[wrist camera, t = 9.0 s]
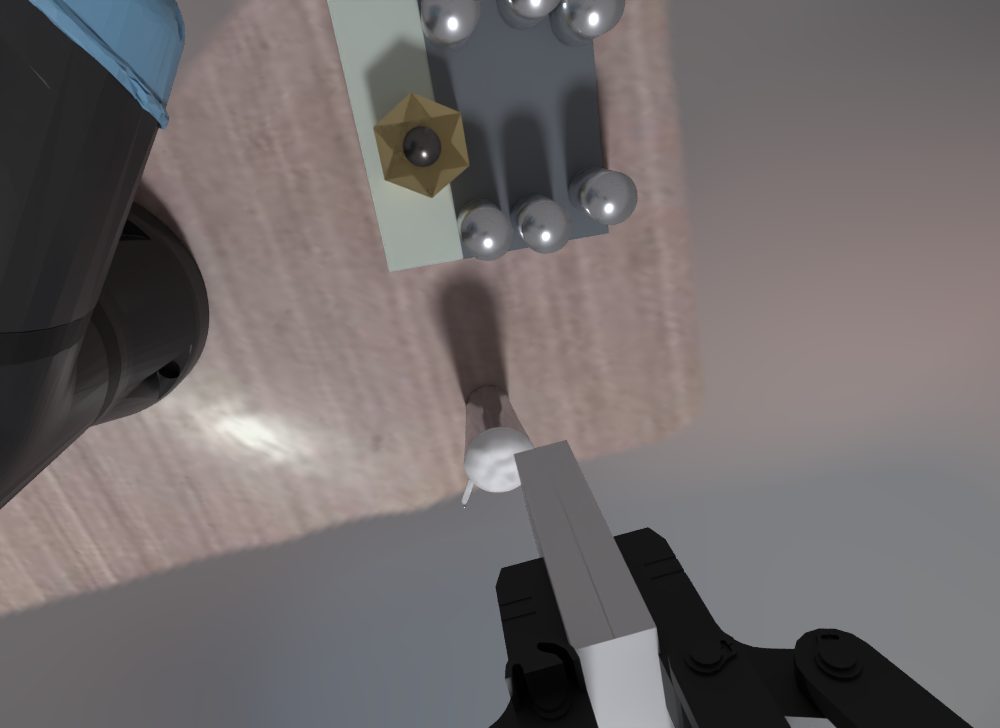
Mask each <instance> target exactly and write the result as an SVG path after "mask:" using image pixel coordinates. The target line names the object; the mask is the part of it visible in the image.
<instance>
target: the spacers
mask: <svg viewBox="0 0 1000 728" xmlns="http://www.w3.org/2000/svg"><path fill="white" fill-rule="evenodd" d="M496 4H497V9H498V12H499V15H500V16H501V18H502V20H503V21H504V22H505V23H506V24H507V25H508V26H510V27H512V28H514V29H518V30H526V29H530V28H532V27H534V26H535V25H536V24H538V23H539V22H540V21H541V20H542V19H543V18H544V17H545V16H547V15H548V14H549V13H550V17H549V20H550V27H551V30H552V32H553V34H554V36H555V37H556V38H557V39H558V40H559V41H560V42H561V43H563V44H565V45H567V46H580V45H582V44H584V43H586V42H588V41H590V40H592V39H594V38H596V37H598V36H600V35H602V34H604V33H606V32H608V31H609V30H611V29H612V28H613V27H614V26H615V25H616V24H617V23H618V22H619V20H620V18H621V16H622V14H623V11H624V7H625V0H496ZM480 9H481V6H480V0H421V24H422V29H423V32H424V35H425V37H426V38H427V40H428V41H429V42H430V43H431V44H432V45H433V46H434V47H435V48H437V49H439V50H442V51H454V50H457V49H459V48H461V47H462V46H464V45H465V44H466V43H467V41H468V40H469V38H470V36H471V34H472V32H473V30H474V28H475V26H476V25H477V22H478V20H479V16H480ZM568 197H569V200H570V203H571V204H572V206H573V207H574V208H575V209H576V210H578V211H580V212H581V213H583V214H585V215H587V216H589V217H591V218H592V219H594V220H596V221H598V222H600V223H602V224H606V225H615V224H618V223H621V222H623V221H624V220H626V219H627V218H628V217H629V216H630V215H631V214H632V212H633V211H634V209H635V206H636V203H637V189H636V186H635V184H634V182H633V181H632V179H631V178H630V177H628V176H627V175H625V174H623V173H621V172H616V171H612V170H608V169H604V168H599V167H595V166H589V167H584V168H582V169H580V170H579V171H577V172H576V173H575V174H574V175H573V177H572V178H571V180H570V182H569V186H568ZM510 220H511V222H510V221H509V219H508V218H507V217H506V215H505V214H504V213H503V212H502V211H501V210H500V209H499V208H498V207H497V206H496V205H495V204H494V203H493V202H491V201H489V200H486V199H474V200H471V201H469V202H467V203H466V204H465V205H464V206H463V207H462V208H461V210H460V212H459V214H458V219H457V225H458V230H459V232H460V235H461V238H462V241H463V244H464V246H465V248H466V250H467V251H468V252H469V253H470V254H471V255H472V256H473V257H475V258H477V259H480V260H485V261H489V260H495V259H497V258H499V257H501V256H503V255H504V254H505V253H506V252H507V251H508V249H509V248H510V246H511V244H512V241H513V229H514V230H515V231H516V232H517V234H518V235H519V236H520V237H521V238H522V239H523V240H524V242H525V243H526V244H527V245H528V246H529V247H530V248H531V249H533V250H534V251H536V252H539V253H553V252H556V251H558V250H559V249H561V248H562V247H563V246H564V245H565V244H566V243H567V242H568V240H569V238H570V236H571V233H572V220H571V217H570V214H569V213H568V211H567V210H566V209H565V208H564V207H563V206H562V205H560V204H558V203H557V202H555V201H553V200H551V199H550V198H548V197H546V196H544V195H542V194H540V193H527V194H524V195H522V196H521V197H519V198H518V199H517V200H516V201H515V203H514V204H513V206H512V209H511V213H510ZM511 224H512V225H511ZM512 227H513V228H512Z"/></svg>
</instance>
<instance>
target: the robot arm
mask: <svg viewBox="0 0 1000 728" xmlns="http://www.w3.org/2000/svg"><path fill="white" fill-rule="evenodd" d="M184 42H185V28H184V22H183V18H182V15H181V12H180V10H179V8H178V5H177V2H176V1H175V0H0V509H1V508H2V507H3V506H5V505H6V504H7V503H8V502H9V501H10V500H11V499H12V498H13V497H14V496H15V495H16V494H18V493H19V492H20V491H21V490H22V489H23V488H24V487H25V486H26V485H27V484H28V483H30V482H31V481H32V480H33V479H34V478H35V477H36V476H37V475H38V474H39V473H40V472H41V471H43V470H44V469H45V468H46V467H47V466H48V465H49V464H50V463H51V462H52V461H53V460H55V459H56V458H57V457H58V456H59V455H60V454H61V453H62V452H63V451H64V450H65V449H66V448H68V447H69V446H70V445H71V444H72V443H73V442H74V441H75V440H76V439H77V438H78V437H80V436H81V435H82V434H83V433H84V432H85V431H86V430H87V429H88V428H89V427H91V426H95V425H98V424H102V423H105V422H109V421H112V420H115V419H119V418H122V417H126V416H129V415H132V414H135V413H137V412H140V411H142V410H144V409H146V408H148V407H150V406H152V405H153V404H155V403H157V402H158V401H160V400H161V399H163V398H164V397H165V396H167V395H168V394H169V393H170V392H171V391H172V390H173V389H174V388H176V387H177V385H178V384H179V383H180V382H181V381H182V380H183V379H184V378H185V377H186V376H187V375H188V374H189V373H190V371H191V370H192V369H193V367H194V366H195V364H196V363H197V361H198V359H199V357H200V355H201V353H202V351H203V348H204V346H205V342H206V339H207V334H208V328H209V305H208V299H207V294H206V290H205V287H204V283H203V280H202V278H201V275H200V273H199V271H198V269H197V267H196V264H195V263H194V261H193V259H192V257H191V256H190V254H189V253H188V251H187V250H186V248H185V247H184V246H183V244H182V243H181V242H180V240H179V239H178V238H177V237H176V236H175V235H174V234H173V232H172V231H171V230H170V229H169V228H168V227H167V226H166V225H164V224H163V223H162V222H161V221H160V220H159V219H158V218H156V217H155V216H154V215H153V214H151V213H150V212H149V211H147V210H146V209H144V208H143V207H141V206H140V205H138V204H136V203H135V202H133V200H134V197H135V194H136V191H137V188H138V185H139V182H140V180H141V177H142V174H143V171H144V168H145V165H146V162H147V160H148V157H149V154H150V151H151V148H152V145H153V142H154V140H155V137H156V134H157V131H158V128H161V129H165V128H166V127H167V125H168V121H169V116H168V113H167V111H166V106H167V103H168V99H169V96H170V92H171V89H172V86H173V82H174V79H175V75H176V72H177V69H178V65H179V61H180V58H181V55H182V52H183V48H184V44H185V43H184ZM514 458H515V462H516V466H517V470H518V474H519V478H520V483H521V487H522V491H523V495H524V499H525V503H526V507H527V511H528V515H529V520H530V524H531V528H532V532H533V535H534V539H535V542H536V545H537V549H538V552H539V556H540V558H538V559H534V560H531V561H527V562H523V563H520V564H516V565H512V566H508V567H504V568H502V569H501V571H500V574H499V577H498V581H497V584H496V592H497V598H498V603H499V608H500V615H501V621H502V626H503V632H504V638H505V643H506V649H507V654H508V662H507V664H506V670H505V681H506V684H507V687H508V691H509V694H510V697H511V699H510V702H509V704H508V706H507V708H506V710H505V712H504V713H503V714H502V716H501V717H500V718H499V719H498V720H497V721H496V722H495V723H494V724H493V725H491V726H490V727H489V728H672V727H671V720H672V722H673V724H674V727H675V728H973V727H972V726H970V725H969V724H968V723H967V722H965V721H964V720H963V719H962V718H961V717H959V716H958V715H957V714H955V713H954V712H953V711H952V710H951V709H949V708H948V707H947V706H945V705H944V704H943V703H942V702H940V701H939V700H938V699H937V698H935V697H934V696H933V695H932V694H930V693H929V692H928V691H927V690H925V689H924V688H923V687H922V686H920V685H919V684H918V683H917V682H915V681H914V680H913V679H912V678H910V677H909V676H908V675H907V674H905V673H904V672H903V671H902V670H900V669H899V668H898V667H897V666H895V665H894V664H893V663H892V662H890V661H889V660H888V659H887V658H885V657H884V656H882V654H880V653H879V652H878V651H877V650H875V649H874V648H873V647H871V646H870V645H869V644H868V643H866V642H865V641H863V640H861V639H860V638H858V637H856V636H855V635H853V634H851V633H848V632H844V631H841V630H837V629H816V630H813V631H810V632H807V633H805V634H804V635H803V636H802V637H801V638H800V639H798V640H797V642H796V646H795V649H770V648H759V647H752V646H749V645H746V644H743V643H740V642H738V641H736V640H734V639H733V637H731V636H729V635H728V634H726V633H724V632H723V631H722V630H721V629H720V627H719V626H718V625H717V624H716V622H715V621H714V619H713V617H712V616H711V614H710V612H709V611H708V609H707V607H706V606H705V604H704V602H703V601H702V599H701V598H700V596H699V594H698V592H697V591H696V589H695V587H694V586H693V584H692V582H691V581H690V579H689V578H688V576H687V575H686V573H685V572H684V569H683V568H682V566H681V564H680V563H679V561H678V559H676V556H675V554H674V553H673V551H672V549H671V548H670V546H669V544H668V543H667V541H666V539H664V538H663V537H661V536H660V535H659V534H657V533H656V532H654V531H653V530H651V529H650V528H648V527H647V528H644V529H640V530H636V531H632V532H629V533H625V534H621V535H618V536H614V537H613V536H612V534H611V532H610V529H609V527H608V525H607V523H606V521H605V519H604V517H603V515H602V513H601V511H600V509H599V507H598V505H597V503H596V500H595V498H594V496H593V494H592V492H591V490H590V488H589V486H588V484H587V482H586V480H585V477H584V475H583V473H582V471H581V469H580V467H579V465H578V463H577V461H576V459H575V457H574V455H573V452H572V450H571V448H570V446H569V444H568V442H567V440H565V441H561V442H557V443H553V444H550V445H546V446H542V447H538V448H534V449H531V450H527V451H523V452H519V453H515V454H514ZM670 717H671V720H670Z"/></svg>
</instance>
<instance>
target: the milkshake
mask: <svg viewBox="0 0 1000 728" xmlns="http://www.w3.org/2000/svg"><path fill="white" fill-rule="evenodd" d="M531 449H534V446H533V444H532V442H531V440H530V439H529V437H528V435H527V433H526V432H525V430H524V428H523V426H522V425H521V423H520V421H519V419H518V417H517V415H516V413H515V411H514V409H513V407H512V405H511V403H510V401H509V399H508V397H507V395H506V393H504V392H503V391H501V390H500V389H498V388H497V387H495V386H489V387H480V388H479V389H477V390H476V391H474V392H473V393H471V394H470V396H469V399H468V402H467V405H466V430H465V454H464V468H465V471H466V473H467V475H468V477H469V481H468V484H467V487H466V489H465V492H464V495H463V498H462V501H461V504H462V505H463V506H464V507H466V505H467V502H468V499H469V496H470V493H471V491H472V488H473V485H474V484H475V485H477V486H478V487H480V488H481V489H483V490H486V491H489V492H505V491H510V490H512V489H514V488H516V487H518V486H520V485H521V483H520V478H519V474H518V470H517V466H516V462H515V458H514V454H515V453H519V452H523V451H527V450H531Z"/></svg>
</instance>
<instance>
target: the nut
mask: <svg viewBox="0 0 1000 728" xmlns="http://www.w3.org/2000/svg"><path fill="white" fill-rule="evenodd" d="M373 130H374V134H375V139H376V143H377V148H378V152H379V157H380V162H381V166H382V171H383V175H384V180H385V181H388V182H391V183H393V184H396V185H399V186H401V187H404V188H406V189H409V190H412V191H414V192H417V193H420V194H422V195H425V196H427V197H430V198H433V197H434V196H435V195H436V194H437V193H439V192H440V191H441V190H442V189H443V188H444V187H446V186H447V185H448V184H449V183H450V182H451V181H452V180H454V179H455V178H456V177H457V176H458V175H459V174H461V173H462V172H463V171H464V170H465V169H466V168H467V167H469V160H468V154H467V148H466V142H465V136H464V130H463V124H462V118H461V113H460V112H458V111H455V110H453V109H451V108H448V107H446V106H443V105H441V104H439V103H436V102H434V101H432V100H429V99H427V98H424V97H422V96H420V95H417V94H415V93H412V92H411V93H410V94H409V95H408V96H407V97H406V98H405V99H403V100H402V101H401V102H400V103H399V104H398V105H397V106H396V107H395V108H394V109H393V110H391V111H390V112H389V113H388V114H387V115H386V116H385V117H384V118H383V119H382V120H380V121H379V122H378V123H377V124H376V125H375V126H374V127H373Z"/></svg>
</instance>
